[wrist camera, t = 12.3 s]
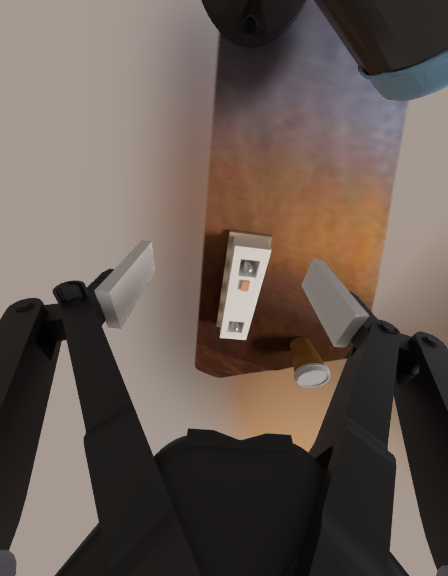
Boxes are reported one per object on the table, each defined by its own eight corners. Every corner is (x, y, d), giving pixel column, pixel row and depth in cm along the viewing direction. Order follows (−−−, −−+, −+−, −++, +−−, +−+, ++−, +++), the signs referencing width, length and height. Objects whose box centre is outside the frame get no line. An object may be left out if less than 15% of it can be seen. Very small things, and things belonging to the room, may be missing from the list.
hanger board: (229, 229, 41) (229, 231, 39) (271, 234, 41) (272, 237, 40) (216, 322, 57) (216, 326, 55) (246, 325, 57) (247, 329, 56)
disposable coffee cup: (293, 356, 65) (305, 391, 56) (279, 342, 61) (289, 378, 52) (320, 344, 62) (337, 380, 52) (306, 328, 58) (322, 364, 48)
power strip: (234, 236, 40) (235, 247, 35) (266, 240, 40) (272, 251, 36) (220, 323, 55) (219, 339, 50) (244, 326, 55) (246, 341, 51)
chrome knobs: (242, 252, 43) (245, 267, 37) (250, 253, 43) (254, 268, 37) (230, 313, 54) (231, 332, 48) (237, 314, 54) (238, 333, 48)
